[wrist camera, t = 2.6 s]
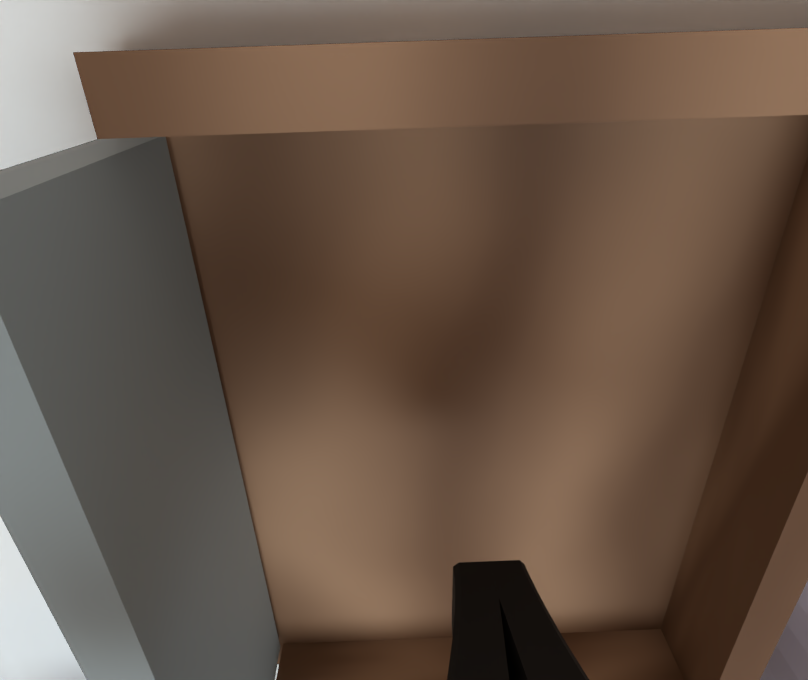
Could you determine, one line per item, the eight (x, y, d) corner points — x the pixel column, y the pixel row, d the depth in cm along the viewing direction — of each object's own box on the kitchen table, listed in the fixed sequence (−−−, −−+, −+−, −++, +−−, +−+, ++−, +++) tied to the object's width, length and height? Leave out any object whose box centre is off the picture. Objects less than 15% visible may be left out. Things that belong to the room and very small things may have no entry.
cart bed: (851, 27, 12) (1079, 18, 8) (668, 611, 21) (731, 738, 18) (123, 51, 12) (-10, 55, 8) (263, 626, 21) (234, 758, 17)
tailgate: (164, 134, 11) (-42, 215, 6) (280, 646, 19) (238, 875, 14) (66, 138, 11) (-232, 221, 6) (223, 648, 19) (159, 878, 14)
